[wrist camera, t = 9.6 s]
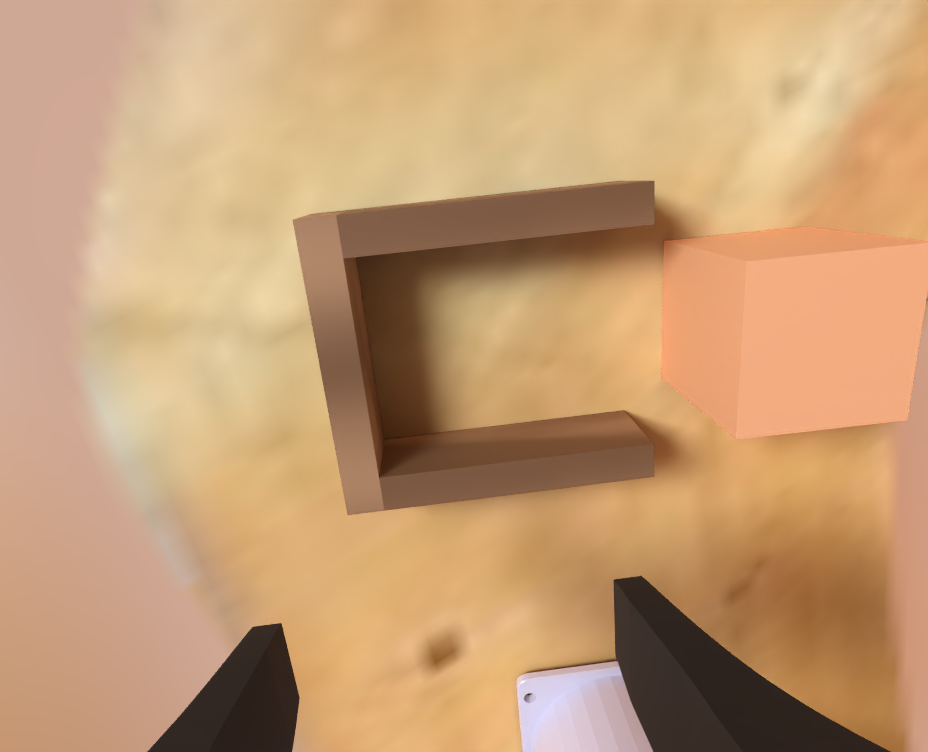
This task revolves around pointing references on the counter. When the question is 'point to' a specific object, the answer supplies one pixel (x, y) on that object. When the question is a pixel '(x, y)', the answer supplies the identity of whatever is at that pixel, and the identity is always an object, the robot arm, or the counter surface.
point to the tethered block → (794, 327)
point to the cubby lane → (473, 450)
